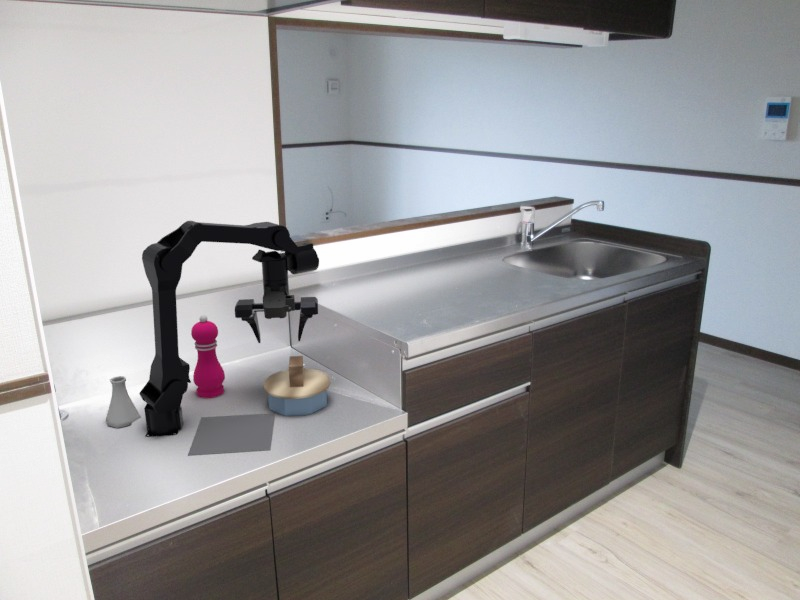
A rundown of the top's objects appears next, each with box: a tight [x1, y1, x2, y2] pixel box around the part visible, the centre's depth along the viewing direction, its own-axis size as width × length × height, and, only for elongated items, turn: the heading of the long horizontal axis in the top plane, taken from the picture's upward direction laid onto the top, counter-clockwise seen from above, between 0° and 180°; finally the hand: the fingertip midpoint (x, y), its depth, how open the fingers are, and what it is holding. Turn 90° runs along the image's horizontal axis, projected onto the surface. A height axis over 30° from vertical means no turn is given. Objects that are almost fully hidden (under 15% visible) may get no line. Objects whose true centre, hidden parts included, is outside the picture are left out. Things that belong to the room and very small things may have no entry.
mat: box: [187, 412, 276, 457], centre depth 134 cm, size 16×16×1 cm
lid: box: [263, 355, 331, 399], centre depth 145 cm, size 15×15×6 cm
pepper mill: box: [190, 314, 226, 399], centre depth 150 cm, size 7×7×20 cm
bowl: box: [267, 389, 328, 417], centre depth 147 cm, size 13×13×5 cm
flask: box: [105, 375, 142, 429], centre depth 139 cm, size 7×7×10 cm
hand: (279, 341), depth 150 cm, fingers open, 9 cm apart
